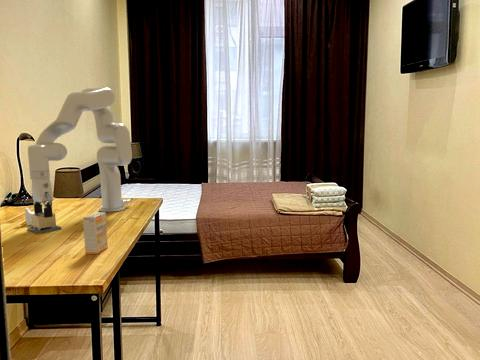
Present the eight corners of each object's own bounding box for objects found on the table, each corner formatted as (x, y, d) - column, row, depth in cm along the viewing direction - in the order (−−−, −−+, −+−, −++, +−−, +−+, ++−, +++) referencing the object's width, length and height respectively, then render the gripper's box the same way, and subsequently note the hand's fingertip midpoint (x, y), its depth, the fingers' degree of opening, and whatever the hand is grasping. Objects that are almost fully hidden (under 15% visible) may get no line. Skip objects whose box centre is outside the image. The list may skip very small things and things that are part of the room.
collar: (49, 222, 207) (48, 211, 206) (56, 225, 202) (55, 213, 201) (32, 226, 202) (31, 214, 201) (39, 228, 197) (38, 216, 196)
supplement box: (98, 254, 165) (95, 217, 163) (84, 254, 166) (82, 216, 164) (108, 247, 173) (106, 211, 171) (96, 247, 174) (93, 211, 172)
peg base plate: (51, 225, 209) (49, 209, 208) (61, 229, 202) (60, 212, 201) (27, 229, 202) (26, 213, 201) (37, 233, 195) (35, 216, 194)
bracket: (43, 224, 213) (41, 207, 212) (26, 225, 211) (24, 208, 210) (49, 218, 225) (47, 202, 224) (32, 219, 224) (31, 203, 223)
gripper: (58, 175, 195) (61, 216, 198) (40, 172, 208) (43, 211, 210) (39, 177, 190) (43, 220, 193) (22, 174, 202) (26, 214, 205)
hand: (43, 215), depth 201 cm, fingers open, 9 cm apart
